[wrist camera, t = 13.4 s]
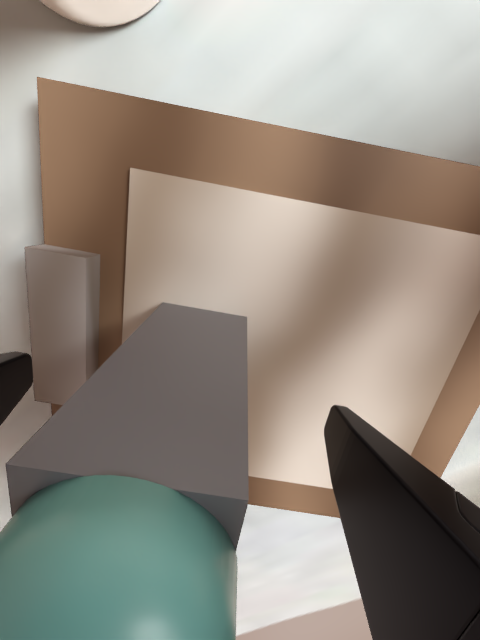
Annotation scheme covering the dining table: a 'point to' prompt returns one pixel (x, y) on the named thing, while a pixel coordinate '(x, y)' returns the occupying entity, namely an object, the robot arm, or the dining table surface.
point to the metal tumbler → (101, 10)
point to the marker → (135, 493)
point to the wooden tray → (263, 272)
